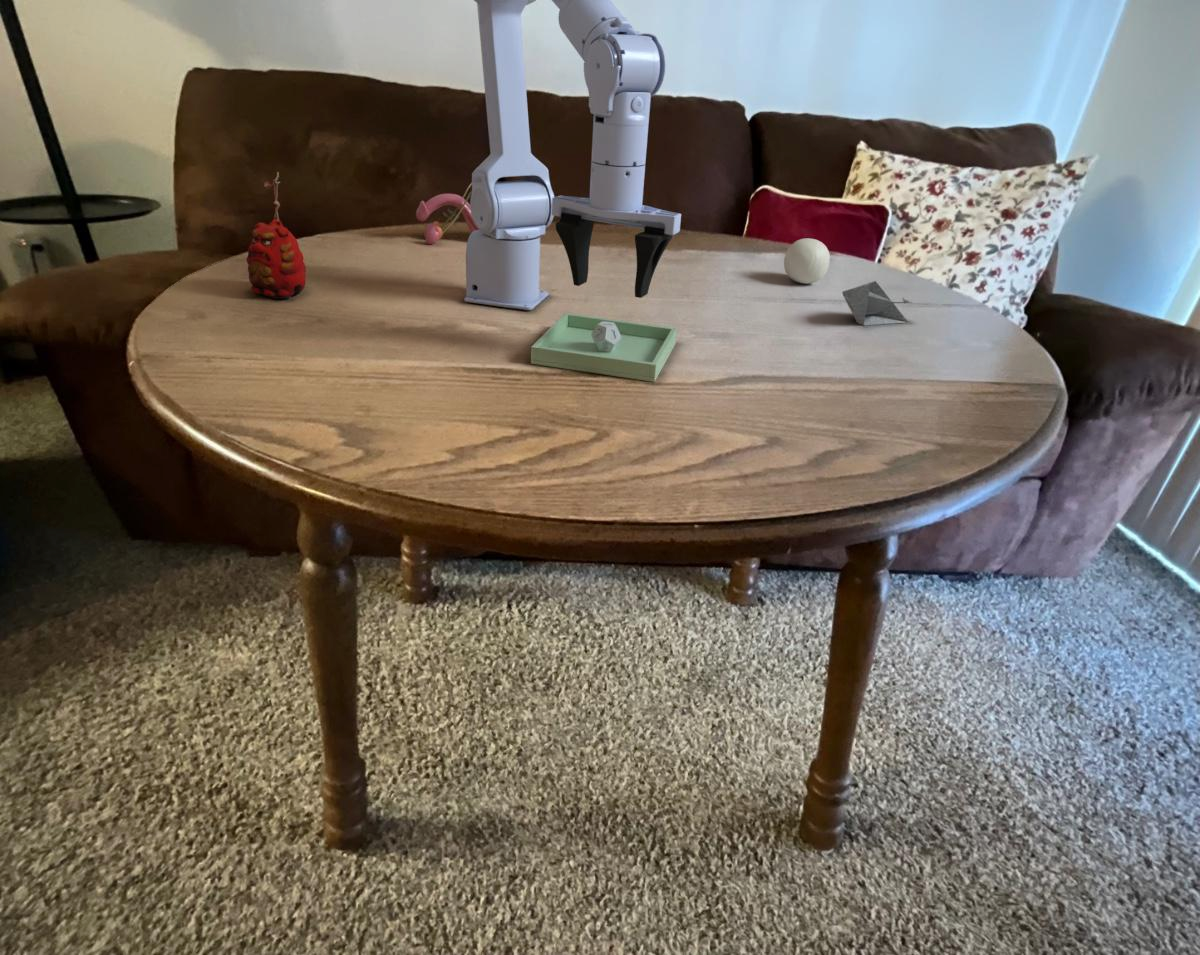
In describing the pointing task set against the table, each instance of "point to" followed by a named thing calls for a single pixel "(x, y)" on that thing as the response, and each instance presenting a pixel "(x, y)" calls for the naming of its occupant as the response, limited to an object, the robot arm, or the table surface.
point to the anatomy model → (434, 229)
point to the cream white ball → (806, 260)
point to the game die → (606, 336)
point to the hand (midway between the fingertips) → (610, 289)
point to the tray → (630, 359)
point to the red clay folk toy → (275, 257)
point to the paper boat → (873, 305)
